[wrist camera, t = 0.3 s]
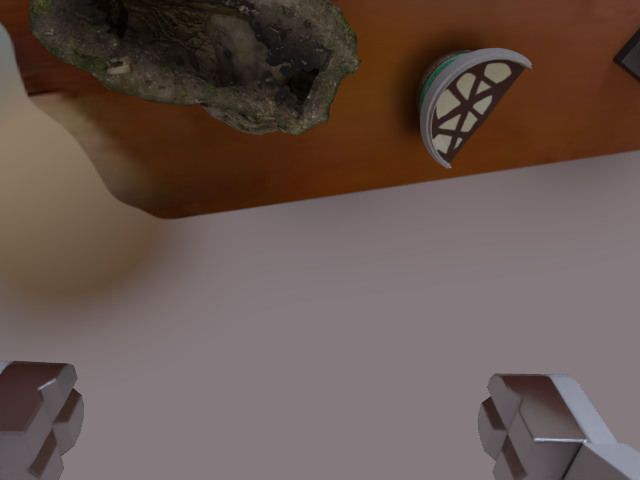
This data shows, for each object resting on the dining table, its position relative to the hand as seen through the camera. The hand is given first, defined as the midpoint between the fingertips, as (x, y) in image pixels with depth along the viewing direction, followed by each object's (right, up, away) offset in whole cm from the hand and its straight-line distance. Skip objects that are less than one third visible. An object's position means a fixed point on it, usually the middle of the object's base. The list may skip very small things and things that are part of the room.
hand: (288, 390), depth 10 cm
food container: (+14, +21, +44) cm, 50 cm away
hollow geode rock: (-10, +24, +40) cm, 48 cm away
